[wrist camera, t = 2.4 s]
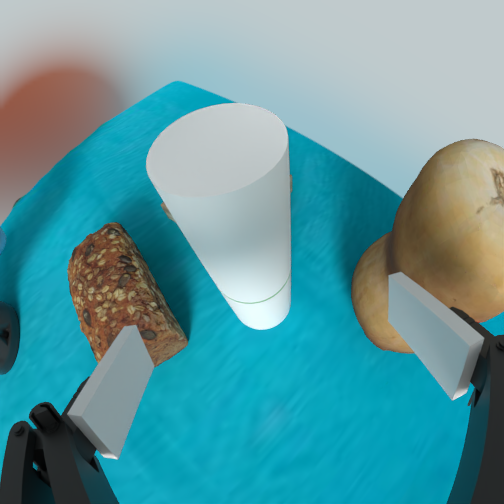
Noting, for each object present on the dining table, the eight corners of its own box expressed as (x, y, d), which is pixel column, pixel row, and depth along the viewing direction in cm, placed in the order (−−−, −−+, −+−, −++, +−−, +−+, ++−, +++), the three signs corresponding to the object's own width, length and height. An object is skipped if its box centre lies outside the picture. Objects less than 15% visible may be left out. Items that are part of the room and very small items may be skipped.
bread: (196, 344, 33) (164, 326, 24) (133, 384, 31) (87, 377, 23) (141, 243, 42) (109, 205, 33) (91, 279, 40) (52, 250, 31)
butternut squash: (333, 351, 31) (429, 256, 9) (349, 252, 36) (398, 83, 14) (433, 364, 27) (590, 297, 5) (437, 270, 33) (537, 141, 11)
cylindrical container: (271, 265, 37) (242, 91, 15) (301, 309, 34) (319, 150, 12) (224, 293, 36) (133, 142, 14) (252, 340, 33) (172, 227, 11)
